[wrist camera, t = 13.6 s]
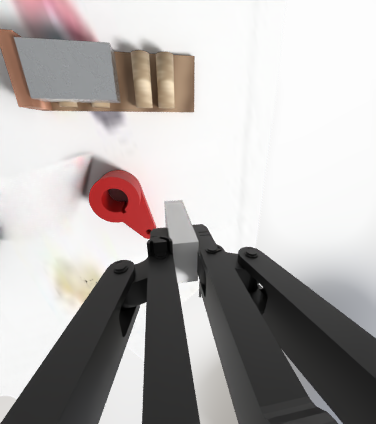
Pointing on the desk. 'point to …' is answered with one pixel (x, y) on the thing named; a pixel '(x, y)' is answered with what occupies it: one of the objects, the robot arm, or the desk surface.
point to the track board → (125, 81)
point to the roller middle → (141, 78)
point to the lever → (122, 202)
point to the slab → (69, 70)
